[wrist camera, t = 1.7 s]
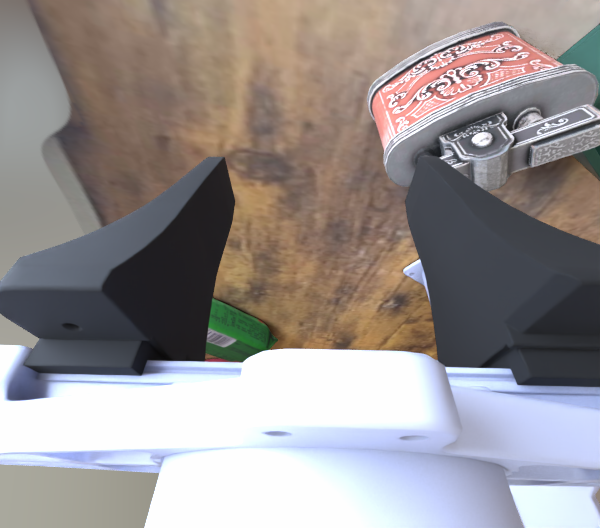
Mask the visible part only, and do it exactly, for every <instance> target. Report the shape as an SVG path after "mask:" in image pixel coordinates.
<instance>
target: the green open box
mask: <svg viewBox="0 0 600 528" xmlns="http://www.w3.org/2000/svg"><path fill="white" fill-rule="evenodd" d="M556 61H558V62H560V63H561V64H563V65H571V64H575V65H577V66H579V67H581V68H583V69H585V70H586V71H588V72H590V73H592V74H593V75H595V77H596V79H597V81H598V83H599V87H598V96H597V98H596V100H595V103H594V105H593V106H594V107H596V108H597V109H599V110H600V24H599V25H598V26H597V27H595V28H594V29H593V30H592V31H591V32H589V33H588V34H587V35H586V36H585V37H583V38H582V39H581V40H580V41H579V42H577V43H576V44H575V45H574V46H572V47H571V48H570V49H569V50H568V51H566V52H565V53H564V54H563V55H562V56H560V57H559V58H558V59H557V60H556ZM572 155H573V156H574V157H575V158H576V159H577V160H578V161H579V162H580V163H581V164H582V165H583V166H584V167H585V168H586V169H587V170H589V171H590V172H591V173H592V174H593V175H594V176H595V177H596V178H597V179H598V180H599V181H600V145H599V146H597V147H594V148H591V149H588V150H585V151H582V152H579V153H576V154H572Z"/></svg>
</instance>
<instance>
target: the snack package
mask: <svg viewBox="0 0 600 528" xmlns="http://www.w3.org/2000/svg"><path fill="white" fill-rule="evenodd" d="M277 341H278V339H277V338H276V337H274V336H273V335H272V333H271V332H270V330H269V328H268V327H267V325H266V324H265V323H263V322H262V321H260V320H259V319H257V318H255V317H252V316H250V315H248V314H245V313H243V312H241V311H239V310H237V309H235V308H233V307H231V306H229V305H227V304H225V303H223V302H220V301H218V300H216V299H214V298H212V305H211V312H210V318H209V326H208V334H207V342H206V352H205V353H207V354H210V355H213V356H216V357H219V358H221V359H224V360H227V361H230V362H239V363H244V361H245V360H246V359H248V358H249V357H251V356H253V355H256V354H258V353H260V352H262V351H267V350H269V349H270V348H271V347H272V346H273V345H274V344H275V343H276V342H277Z"/></svg>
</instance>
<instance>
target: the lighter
mask: <svg viewBox="0 0 600 528" xmlns="http://www.w3.org/2000/svg"><path fill="white" fill-rule="evenodd" d="M598 87H599V83H598V81H597V79H596V77H595V75H593V74H592V73H590V72H588V71H586V70H585V69H583V68H581V67H579V66H577V65H575V64H571V65H563V64H561V63H560V62H558V61H556V60H555V59H553V58H551V57H550V56H548V55H546V54H545V53H543V52H542V51H540V50H538V49H537V48H535V47H533V46H532V45H530V44H528V43H527V42H525V41H523V40H522V39H520V38H519V35H518V33H517V31H516V30H515V29H514V28H512V27H510V26H509V25H507V24H505V23H503V22H494V23H490V24H487V25H483V26H480V27H477V28H473V29H470V30H466V31H463V32H460V33H458V34H456V35H453V36H451V37H449V38H446V39H444V40H441V41H439V42H437V43H434V44H432V45H430V46H428V47H426V48H425V49H423V50H421V51H419V52H418V53H416V54H414V55H413V56H411V57H409V58H407V59H406V60H404V61H402V62H401V63H399V64H398V65H397V66H395V67H394V68H392V69H391V70H390V71H388V72H387V73H385V74H384V75H383V76H381V77H380V78H378V79H377V80H376V81H375V82H374V83H373V84H372V86H371V88H370V90H369V92H368V98H367V101H368V108H369V111H370V114H371V116H372V118H373V119H374V120H375V121H376V125H377V128H378V131H379V135H380V138H381V142H382V145H383V148H384V165H385V168H386V172H387V174H388V176H389V178H390V180H392V181H393V182H394V183H395V184H397V185H400V186H403V187H406V186H410V185H411V182H412V178H413V175H414V172H415V169H416V166H417V163H418V160H419V156H437V157H439V158H441V159H442V160H444V161H445V162H447V163H448V164H449V165H451V166H452V167H454V168H455V169H456V170H458V171H459V172H460V173H462V174H463V175H464V176H466V177H467V178H468V179H470V180H471V181H473V182H474V183H475V184H477V185H478V186H480V187H481V188H483V189H484V190H486V191H487V192H488V191H491V190H494V189H498V188H500V187H502V186H503V185H504V184H505V183H506V182H507V178H508V177H509V176H510V175H511V174H512V173H514V172H517V171H520V170H523V169H526V168H530V167H535V166H538V165H541V164H544V163H547V162H551V161H554V160H557V159H560V158H563V157H566V156H569V155H572V154H576V153H579V152H582V151H585V150H588V149H591V148H594V147H597V146H599V145H600V110H599V109H597V108H596V107H594V106H593V105H594V103H595V100H596V98H597V96H598Z"/></svg>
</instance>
